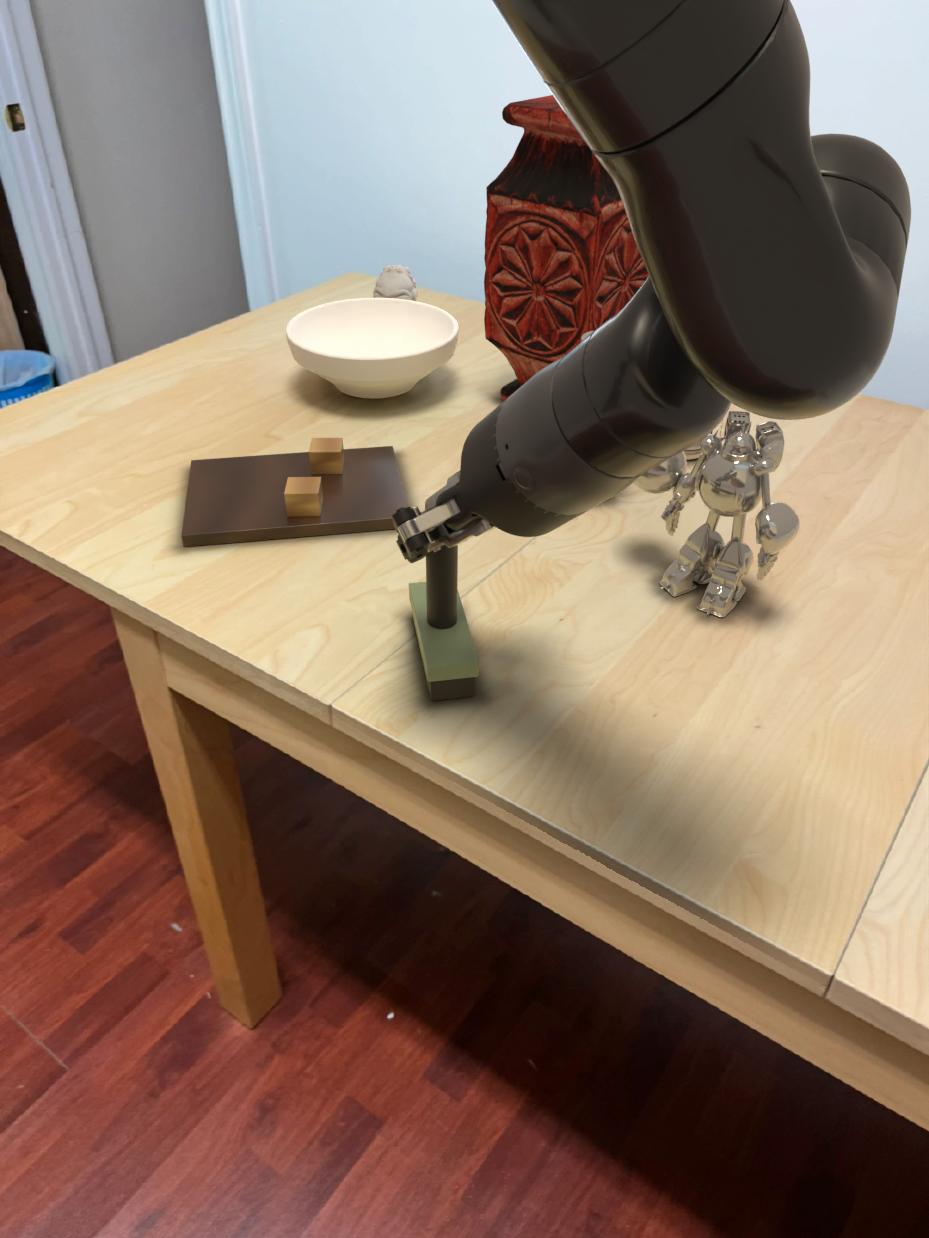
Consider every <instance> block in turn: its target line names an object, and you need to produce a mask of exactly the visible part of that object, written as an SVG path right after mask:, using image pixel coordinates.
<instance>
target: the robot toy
mask: <svg viewBox="0 0 929 1238" xmlns="http://www.w3.org/2000/svg"><path fill="white" fill-rule="evenodd" d="M723 420H724V419H723ZM723 420H722V421H721V423H720V424H721V425H720V429H717V430H716V432H715V433H714V434H713V433H712V434H708V435H707V436H706V437H705V438H703V439H702V440H701V442H700V448H701V451H702V453H701V455H700V456H699V458H697V460H696V462H695V463H694V466H693V468H692V469H691V471H690V472H687V467H688V462H687V461H688V460H686V456H685V453H684V451H683V452H681V453H679V454H678V455H676V456H674V457H672V458H671V459H669V460H667V461H665V462H664V463H662V464H660V465H658V466H657V467H655V468H653V469H651V470H649V471H648V472H646V473H644V474H643V475H641V476H640V477H639V478H638V479H636V480H635V481H634V482H633V483H632V484H633V485H634V486H635V487H636V488H637V489H638V490H640V491H642V492H644V493H646V494H650V495H662V494H666V493H668V492H671V491H672V498H671V499H670V500H668V504H667V505H666V507H665V508H664V511H663V512H662V514H661V515H660V518H661V519H662V520H663V521H664V522H665V530H666V532H667V534H668V535H669V536H670V537H673V536H674V533H676V529H678V526H679V522H680V517H681V512H682V511H683V510H684V508H685V506H686V504H687V503H689V502H691V500H692V499H694V498H695V496H696V493H697V492H698V493H699V497H700V499H701V501H702V503H703V505H704V506H705V507H706V508H707V509H708V510H709V512H708V514H707V517H706V520H705V523H703V524H702V525H700V526H699V527H698V528H696V529H695V530H694V531H693V532H692V533H691V534H690V535H689V536H687V539H686V540H685V541H684V544H683V545H682V546H681V548H680V549H679V551H678V553H677V557H676V558H675V560H674V561H673V562H671V564H669V566H668V567H667V568H666V570H665V571H664V573H663V575H662V579H661V580H660V581H659V583H658V584H659V585H660V586H661V587H660V589H661V590H664V589H665V590H666V591H667V592H668V594H670V595H671V596H672V597H678V596H681V595H683V594H687V593H690V592H691V591H694V590H696V589H697V587H698V586H697V585H696V584H695V583H694V582H696V583H697V584H700V585H707V584H708V585H707V586H706V589H705V591H704V593H703V596H702V599H701V601H700V604H698V605H697V607H696V609H697V610H698V611H700V612H705V613H707V615H709V614H711V615H713V616H715V617H719V618H725V617H727V615H728V614H730V612H731V611H732V610H734V608H735V607H736V605H737V603H738V602H739V601H740V600H741V598H742V597H743V596H744V595H745V592H746V590H747V587H746V586H744V585H743V583H742V580H743V579H744V577H746V576H747V575H748V574H749V572H750V570H751V568H752V566H753V564H754V559H755V555H754V552H753V550H752V548H751V547H750V545H749V544H747V543H746V542H744V537H745V528H746V521H747V515H748V514H747V513H750V512H752V511H753V510H755V509H756V508H757V507H758V506H759V504H760V502H761V504H762V508H761V510H759V511H758V513H757V514H756V517H755V523H754V526H755V542H756V544H757V545H760V548H759V552H758V553H757V568H758V569H757V574H756V580H758V581H763V580H764V579H765V577H767V575H768V573H770V572H771V569H772V568H774V566H775V563H776V562H777V561H778V559H779V558H778V556H779V554H780V552H781V551H783V550H784V549H786V548H787V547H788V546H789V545H790V544H791V543H792V542H793V541H794V540H795V538H796V537H797V535H798V533H799V530H800V518H799V516H798V513H797V511H795V509H794V508H793V507H791V506H790V505H789V504H787V503H786V502H782V501H773V502H771V486H770V485H771V483H770V474H771V473H774V472H775V471H776V470H777V469H778V468H779V466H780V465H781V462H782V460H783V455H784V449H785V436H784V431H783V429H782V428H781V427H780V425H779V424H778V423H777V422H776V421H773V420H769V421H766V422H764V423H760V424H759V423H758V424H756V425H755V427H756V428H755V436H754V437H755V438H754V437H753V435H752V434H751V433H750V431H751V427H752V421H751V413H750V412H749V411H742V410H728V413H727V417H726V421H725V425H724V433H723V436H721V435H722V429H723ZM718 432H719V436H717V435H718ZM723 442H724V443H723ZM721 517H724V518H732V526H731V534H730V540H729V541H728V542H727V543H725V540H724V538H723V537H722V535H721V534H720V532H719V531H717V527H718V524H719V522H720V519H721ZM712 564H714V567H713V568H712V567H711V565H712Z"/></svg>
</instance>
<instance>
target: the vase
mask: <svg viewBox="0 0 929 1238" xmlns="http://www.w3.org/2000/svg"><path fill="white" fill-rule="evenodd" d="M501 116H502V120H503V121H504V122H505V123H506V124H508V125H511V126H514V127H517V128H522V129H523V133H522V136H521V138H520V140H519V142H518V144H517V146H516V148H515V151H514V153H513V155H512V157H511V159H510V160H509V161H508V163H507V164H506V166H505V167H503V169H502V171H500V173H499V174H498V175H497V176H496V178H495V179H493V180H492V181H491V182H490V183H489V184H488V185H487V186H486V188H485V189H486V211H485V213H486V218H485V219H486V220H485V231H484V257H483V259H484V267H485V271H484V277H483V288H484V290H483V291H484V298H485V299H484V300H485V301H484V307H485V308H484V318H483V321H484V323H483V324H484V337H485V340H486V341H488V342H489V343H490V344H492V345H493V346H495V348H496V349H498V350H499V351H500V353H502V355H503V356H504V357H505V358H506V360H507V362H508V364H509V365H510V367H511V368H512V370H513V371H514V375H515V378H516V379H514V380H513V381H510V382H508V383H506V384H505V385H504V386H502V387H501V389H500V397H501V398H502V400H503V401H505V400H506V399H507V398H508V397H509V396H510V395H512V394H513V393H514V392H515V391H516V390H518V389H519V388H520V387H521V386H522V385H523V384H525V383H526V382H527V381H528V380H529V379H530V378H531V377H533V376H534V375H535V374H536V373H538V372H539V371H540V370H542V369H543V368H545V367H546V366H548V365H550V364H551V363H553V362H555V361H557V360H559V359H560V358H562V357H563V356H565V355H566V354H568V353H569V352H570V351H571V350H572V349H573V348H575V347H576V346H577V345H578V344H579V343H580V342H581V337H582V335H583V334H585V333H587V332H590V331H594V330H596V329H597V328H598V327H599V326H601V325H602V324H603V323H604V322H606V321H607V320H608V319H610V318H611V317H613V316H614V315H615V314H617V313H618V312H619V311H620V310H621V309H622V308H624V307H625V305H626V304H627V303H628V302H629V301H630V300H631V298H632V297H633V296H634V295H635V294H636V292H637V291H638V290H639V288H640V287H641V286H642V284H643V283H644V282H645V280H646V279H647V277H648V276H649V275H648V272H647V270H646V267H645V265H644V263H643V260H642V258H641V255H640V253H639V250H638V248H637V245H636V242H635V239H634V236H633V233H632V230H631V227H630V224H629V221H628V217H627V214H626V211H625V208H624V205H623V203H622V200H621V197H620V194H619V192H618V189H617V187H616V185H615V183H614V181H613V180H612V178H611V177H610V175H609V174H608V172H607V171H606V170H605V169H604V167H603V166H602V165H601V163H600V162H599V161H598V159H597V158H596V157H595V155H594V154H593V152H592V151H591V150H590V148H589V146H587V144H586V143H585V141H584V140H583V138H582V137H581V136H580V134H579V133H578V131H577V130H576V128H575V127H574V125H573V124H572V122H571V121H570V119H569V118H568V117H567V115H566V114H565V112H564V111H563V109H562V108H561V106H560V105H559V103H558V102H557V100H556V99H555V98H554V96H553V95H552V94H551V95H544V96H540V97H533V98H529V99H523V100H518V101H512V102H509V103H508V104H507V105H506V106H504V107H503V109H502V111H501Z"/></svg>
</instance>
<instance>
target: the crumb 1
mask: <svg viewBox="0 0 929 1238" xmlns="http://www.w3.org/2000/svg"><path fill="white" fill-rule="evenodd" d="M284 498H285V505H286V513H287V517H315V516H321V510H322V504H323V491H322V481H321V477H288V479H287V483H286V488H285V492H284Z"/></svg>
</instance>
